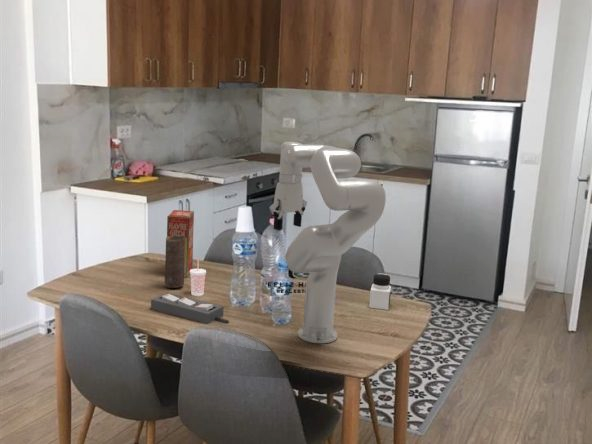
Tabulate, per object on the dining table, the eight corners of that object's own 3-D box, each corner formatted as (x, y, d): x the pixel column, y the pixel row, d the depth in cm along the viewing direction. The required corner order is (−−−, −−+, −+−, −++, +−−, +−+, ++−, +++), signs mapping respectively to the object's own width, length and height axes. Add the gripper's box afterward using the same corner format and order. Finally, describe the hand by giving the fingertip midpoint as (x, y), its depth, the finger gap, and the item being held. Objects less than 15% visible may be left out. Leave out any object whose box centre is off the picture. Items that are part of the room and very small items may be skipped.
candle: (186, 289, 246) (186, 238, 241) (166, 291, 243) (167, 239, 239) (181, 283, 252) (182, 233, 248) (163, 284, 250) (163, 234, 245)
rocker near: (213, 307, 219) (212, 304, 218) (206, 310, 216) (206, 307, 215) (201, 307, 221) (200, 303, 221) (194, 310, 218) (194, 306, 218)
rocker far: (179, 301, 225) (180, 298, 225) (172, 304, 222) (173, 301, 222) (168, 296, 227) (168, 293, 227) (161, 299, 224) (162, 296, 224)
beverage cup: (186, 292, 242) (186, 256, 239) (200, 290, 246) (200, 254, 243) (194, 297, 237) (195, 260, 234) (208, 294, 241) (209, 258, 238)
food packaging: (188, 278, 260) (189, 217, 254) (164, 276, 260) (165, 216, 254) (193, 268, 273) (194, 210, 267) (171, 267, 273) (171, 209, 267)
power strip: (235, 319, 218) (235, 309, 218) (220, 327, 211) (220, 317, 210) (167, 301, 231) (167, 292, 231) (150, 308, 224) (151, 299, 223)
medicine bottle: (388, 310, 235) (391, 278, 233) (369, 307, 236) (371, 276, 234) (389, 304, 242) (392, 273, 239) (370, 301, 243) (373, 271, 241)
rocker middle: (195, 305, 222) (196, 302, 222) (189, 308, 219) (189, 305, 219) (184, 300, 224) (184, 297, 224) (177, 303, 221) (178, 300, 221)
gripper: (299, 175, 227) (296, 222, 231) (264, 179, 214) (261, 228, 218) (315, 178, 222) (312, 226, 226) (280, 182, 209) (277, 233, 213)
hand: (287, 227), depth 222 cm, fingers open, 9 cm apart
